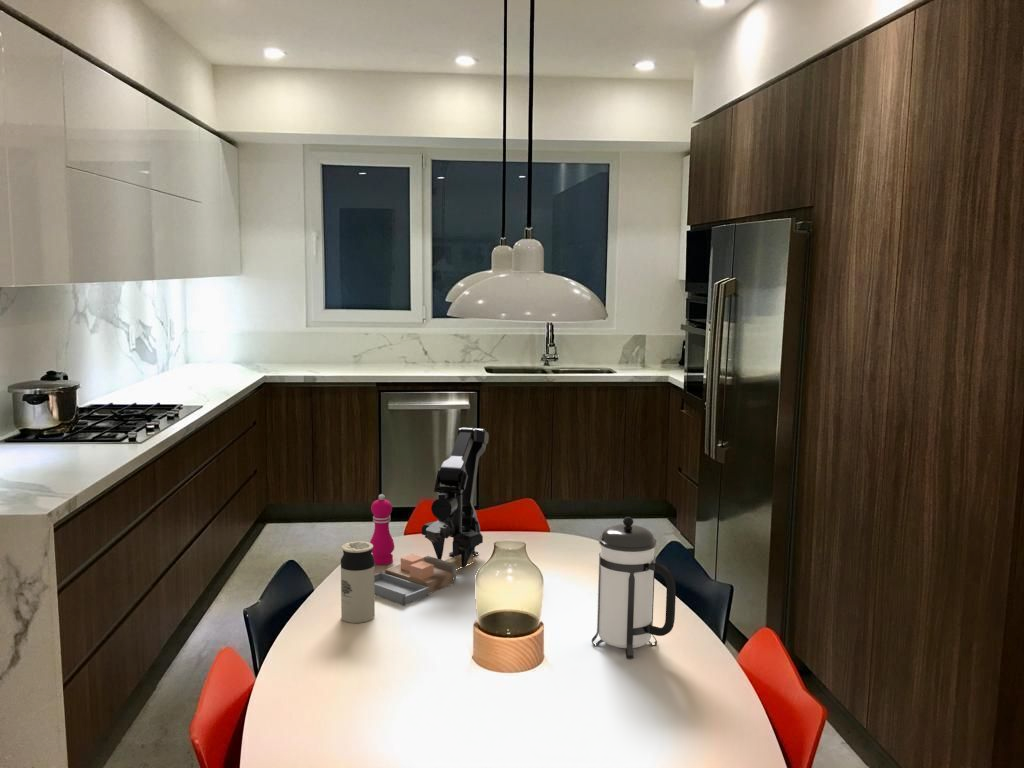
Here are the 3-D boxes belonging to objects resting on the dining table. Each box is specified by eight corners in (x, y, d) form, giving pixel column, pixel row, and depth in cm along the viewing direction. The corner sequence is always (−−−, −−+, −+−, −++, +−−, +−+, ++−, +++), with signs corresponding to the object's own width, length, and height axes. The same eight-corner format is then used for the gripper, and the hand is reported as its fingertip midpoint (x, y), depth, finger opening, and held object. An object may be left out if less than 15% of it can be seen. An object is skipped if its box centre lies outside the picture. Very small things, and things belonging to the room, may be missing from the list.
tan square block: (412, 564, 241) (412, 554, 241) (424, 568, 238) (424, 557, 238) (400, 568, 238) (400, 558, 237) (412, 572, 235) (412, 561, 235)
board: (411, 570, 245) (411, 560, 245) (453, 583, 235) (453, 573, 235) (385, 580, 237) (385, 569, 237) (427, 594, 227) (427, 583, 227)
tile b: (421, 571, 236) (421, 561, 235) (433, 575, 233) (433, 564, 232) (409, 576, 232) (409, 565, 232) (421, 579, 229) (421, 568, 229)
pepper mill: (366, 559, 254) (365, 492, 252) (390, 556, 257) (390, 490, 255) (373, 566, 248) (372, 498, 245) (397, 563, 251) (397, 496, 248)
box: (381, 579, 238) (381, 569, 237) (428, 595, 226) (428, 584, 226) (356, 588, 231) (355, 577, 230) (403, 605, 219) (403, 594, 219)
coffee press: (593, 660, 190) (597, 527, 186) (589, 630, 206) (592, 507, 202) (673, 662, 189) (678, 529, 186) (663, 632, 205) (667, 508, 201)
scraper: (456, 558, 256) (456, 545, 255) (484, 567, 249) (484, 553, 249) (423, 570, 245) (423, 557, 245) (452, 579, 239) (452, 565, 238)
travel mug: (366, 608, 217) (366, 538, 215) (379, 619, 210) (379, 547, 208) (336, 615, 213) (335, 544, 210) (348, 626, 206) (348, 553, 204)
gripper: (407, 509, 244) (407, 563, 246) (457, 522, 232) (456, 578, 234) (435, 501, 252) (435, 553, 254) (484, 513, 241) (483, 567, 243)
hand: (451, 563), depth 246 cm, fingers open, 9 cm apart
